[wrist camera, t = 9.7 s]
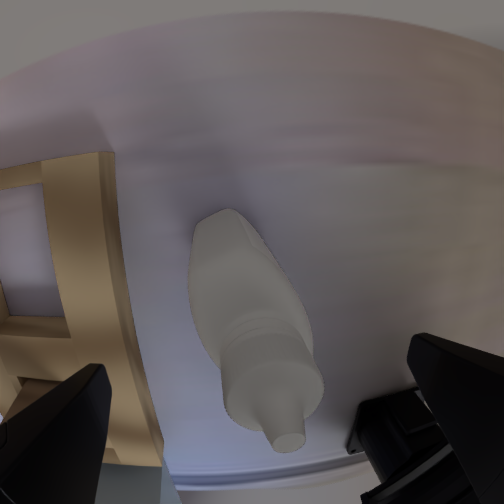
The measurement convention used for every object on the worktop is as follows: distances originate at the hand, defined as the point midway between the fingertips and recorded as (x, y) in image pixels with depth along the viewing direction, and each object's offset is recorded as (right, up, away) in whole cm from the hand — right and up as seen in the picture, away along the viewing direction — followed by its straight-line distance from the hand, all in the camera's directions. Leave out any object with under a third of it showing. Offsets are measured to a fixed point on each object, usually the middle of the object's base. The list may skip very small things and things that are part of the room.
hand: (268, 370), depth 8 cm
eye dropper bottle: (-1, +3, +9) cm, 10 cm away
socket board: (-13, -2, +8) cm, 16 cm away
